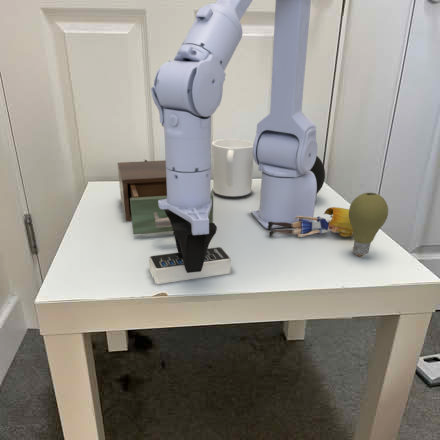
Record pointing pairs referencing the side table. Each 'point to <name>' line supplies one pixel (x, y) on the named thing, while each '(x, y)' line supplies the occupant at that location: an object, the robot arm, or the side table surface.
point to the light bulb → (366, 220)
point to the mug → (232, 168)
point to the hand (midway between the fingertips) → (189, 262)
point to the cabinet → (138, 178)
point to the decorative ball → (318, 173)
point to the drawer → (151, 208)
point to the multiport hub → (175, 270)
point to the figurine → (318, 224)
